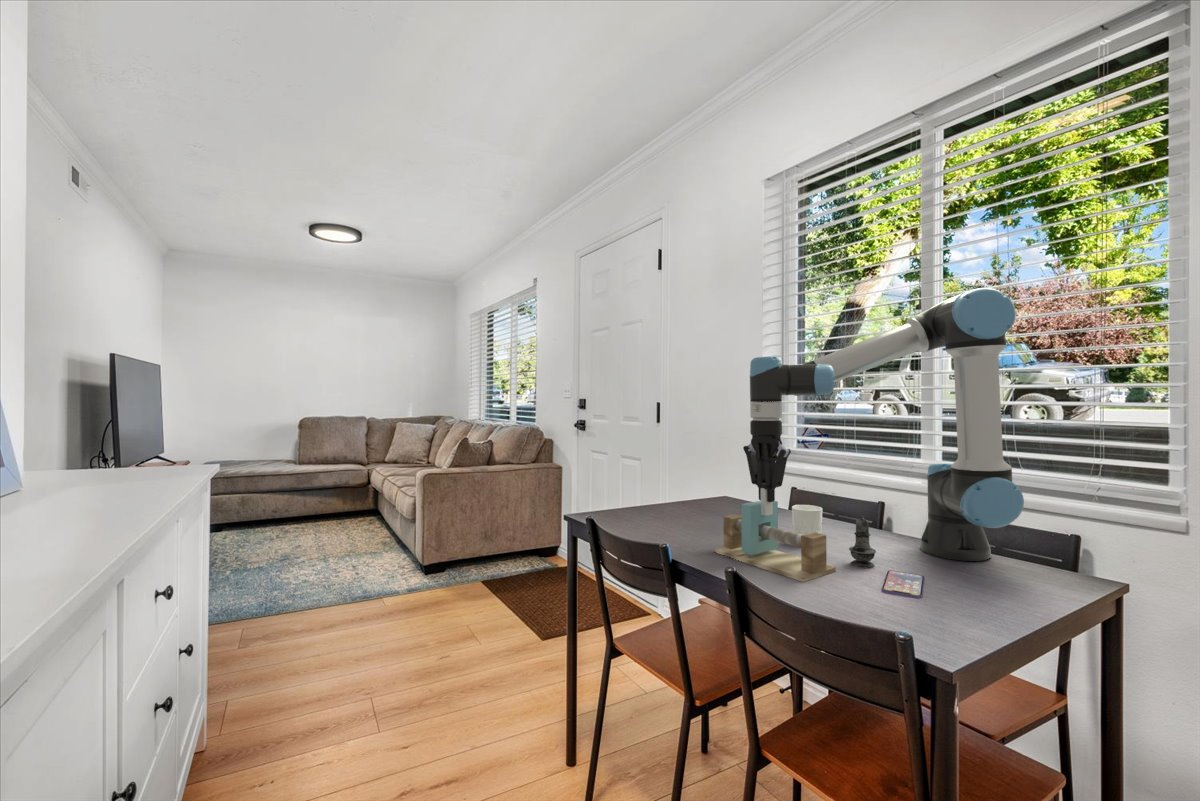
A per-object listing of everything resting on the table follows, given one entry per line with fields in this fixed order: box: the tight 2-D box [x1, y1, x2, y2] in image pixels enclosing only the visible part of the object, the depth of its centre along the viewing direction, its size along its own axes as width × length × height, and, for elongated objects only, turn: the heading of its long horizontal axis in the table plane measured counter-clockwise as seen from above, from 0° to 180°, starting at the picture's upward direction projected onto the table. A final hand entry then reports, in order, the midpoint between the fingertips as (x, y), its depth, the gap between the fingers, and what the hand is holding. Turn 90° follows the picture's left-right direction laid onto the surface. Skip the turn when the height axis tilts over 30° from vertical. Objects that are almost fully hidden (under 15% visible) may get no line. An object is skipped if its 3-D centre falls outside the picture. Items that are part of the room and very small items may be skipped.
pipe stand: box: [713, 513, 837, 583], centre depth 134 cm, size 27×12×9 cm, turn 33°
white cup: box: [791, 504, 823, 535], centre depth 149 cm, size 8×8×10 cm
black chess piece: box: [848, 514, 877, 569], centre depth 131 cm, size 6×6×12 cm
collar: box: [740, 500, 779, 555], centre depth 137 cm, size 3×10×12 cm, turn 123°
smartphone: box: [881, 569, 925, 599], centre depth 117 cm, size 1×7×15 cm
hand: (766, 514), depth 135 cm, fingers closed
